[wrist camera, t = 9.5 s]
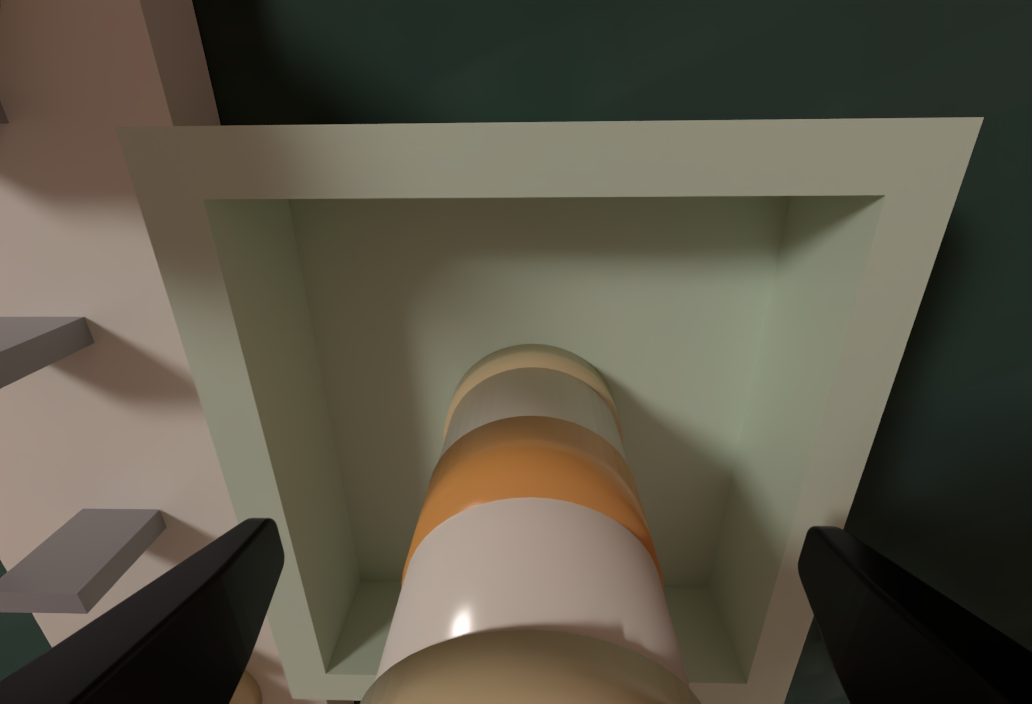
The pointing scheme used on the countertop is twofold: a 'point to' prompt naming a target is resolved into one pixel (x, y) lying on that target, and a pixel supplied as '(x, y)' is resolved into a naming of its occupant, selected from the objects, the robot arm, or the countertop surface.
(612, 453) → the fuse marked
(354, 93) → the countertop surface
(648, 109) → the countertop surface
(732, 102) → the countertop surface
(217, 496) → the fuse holder
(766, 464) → the tray
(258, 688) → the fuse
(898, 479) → the countertop surface
